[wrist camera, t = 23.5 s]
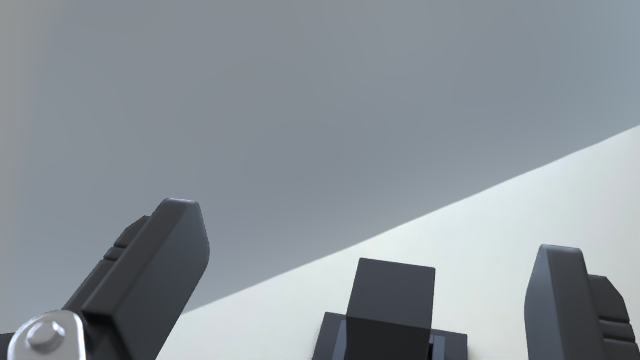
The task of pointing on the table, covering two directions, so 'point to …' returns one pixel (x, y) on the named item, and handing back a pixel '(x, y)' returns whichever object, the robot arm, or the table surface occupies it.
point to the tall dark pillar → (390, 311)
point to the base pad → (331, 345)
